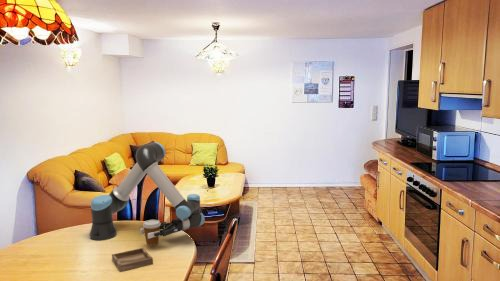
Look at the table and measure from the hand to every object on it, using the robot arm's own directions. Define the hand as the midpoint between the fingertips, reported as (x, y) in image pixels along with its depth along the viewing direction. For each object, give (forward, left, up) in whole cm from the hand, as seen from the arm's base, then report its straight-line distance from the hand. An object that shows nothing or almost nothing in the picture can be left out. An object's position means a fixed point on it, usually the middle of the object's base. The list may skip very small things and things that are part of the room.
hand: (144, 233), depth 219 cm
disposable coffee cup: (-1, +5, -7) cm, 8 cm away
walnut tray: (+13, -10, -9) cm, 19 cm away
